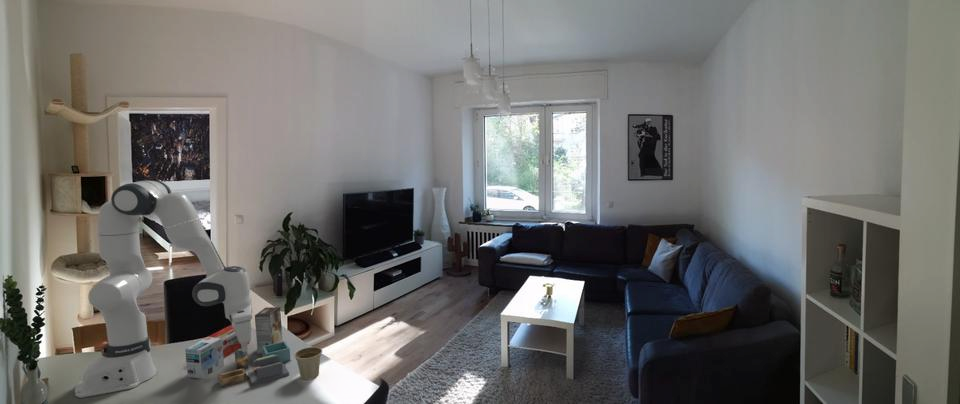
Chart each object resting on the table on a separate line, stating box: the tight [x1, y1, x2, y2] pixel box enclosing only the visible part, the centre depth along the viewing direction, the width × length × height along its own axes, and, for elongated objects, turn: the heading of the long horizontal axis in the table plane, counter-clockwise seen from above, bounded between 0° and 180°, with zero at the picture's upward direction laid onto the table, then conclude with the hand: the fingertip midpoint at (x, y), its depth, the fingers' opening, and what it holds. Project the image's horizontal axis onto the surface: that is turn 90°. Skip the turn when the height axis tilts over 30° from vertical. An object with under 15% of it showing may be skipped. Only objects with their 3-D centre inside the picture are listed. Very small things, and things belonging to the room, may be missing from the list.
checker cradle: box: [247, 355, 290, 386], centre depth 163 cm, size 12×9×5 cm
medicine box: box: [205, 324, 250, 359], centre depth 183 cm, size 15×8×8 cm, turn 166°
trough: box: [218, 368, 248, 388], centre depth 159 cm, size 8×5×2 cm, turn 125°
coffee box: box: [254, 306, 284, 354], centre depth 184 cm, size 9×6×16 cm
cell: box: [234, 349, 249, 371], centre depth 168 cm, size 4×4×8 cm
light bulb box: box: [184, 336, 225, 379], centre depth 166 cm, size 11×7×11 cm, turn 168°
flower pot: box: [293, 346, 323, 380], centre depth 162 cm, size 9×9×9 cm
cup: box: [262, 340, 291, 364], centre depth 175 cm, size 8×8×5 cm
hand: (242, 346), depth 167 cm, fingers open, 8 cm apart
